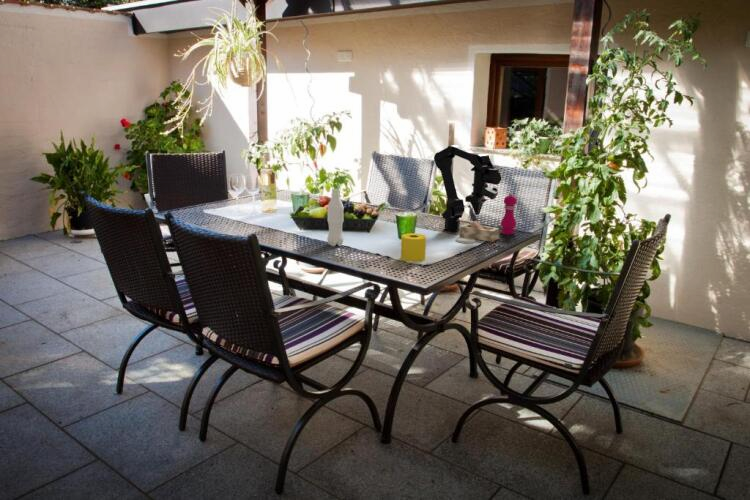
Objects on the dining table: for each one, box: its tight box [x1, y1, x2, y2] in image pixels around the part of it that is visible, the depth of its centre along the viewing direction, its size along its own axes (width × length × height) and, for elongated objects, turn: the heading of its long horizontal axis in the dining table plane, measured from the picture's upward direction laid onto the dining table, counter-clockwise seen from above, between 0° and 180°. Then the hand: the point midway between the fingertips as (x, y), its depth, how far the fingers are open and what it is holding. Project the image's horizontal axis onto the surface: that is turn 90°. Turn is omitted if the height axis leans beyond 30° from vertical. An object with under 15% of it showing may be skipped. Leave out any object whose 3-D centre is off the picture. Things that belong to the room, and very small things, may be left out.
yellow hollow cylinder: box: [400, 232, 427, 263], centre depth 251 cm, size 10×10×9 cm
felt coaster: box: [455, 236, 477, 244], centre depth 282 cm, size 9×9×1 cm
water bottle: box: [326, 188, 345, 247], centre depth 267 cm, size 7×7×25 cm
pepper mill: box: [500, 191, 518, 235], centre depth 296 cm, size 7×7×20 cm
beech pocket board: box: [459, 223, 500, 243], centre depth 288 cm, size 16×8×5 cm, turn 59°
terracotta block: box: [470, 220, 484, 229], centre depth 288 cm, size 9×4×2 cm
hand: (477, 214), depth 287 cm, fingers closed
